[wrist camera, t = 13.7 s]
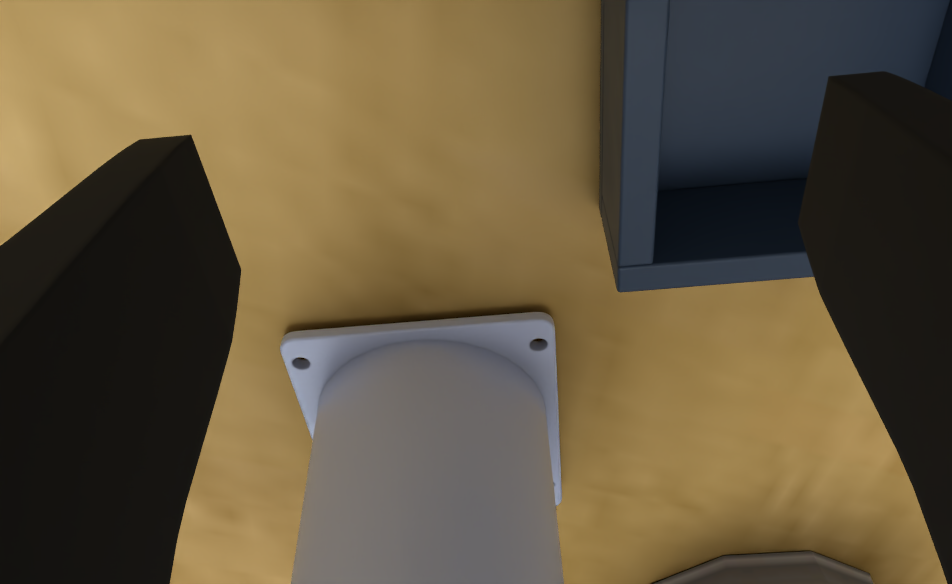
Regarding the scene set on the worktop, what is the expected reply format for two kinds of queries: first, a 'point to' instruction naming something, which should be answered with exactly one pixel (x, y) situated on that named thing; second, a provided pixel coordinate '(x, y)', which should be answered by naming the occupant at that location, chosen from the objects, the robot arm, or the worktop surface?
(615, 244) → the divided tray
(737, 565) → the can
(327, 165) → the worktop surface
